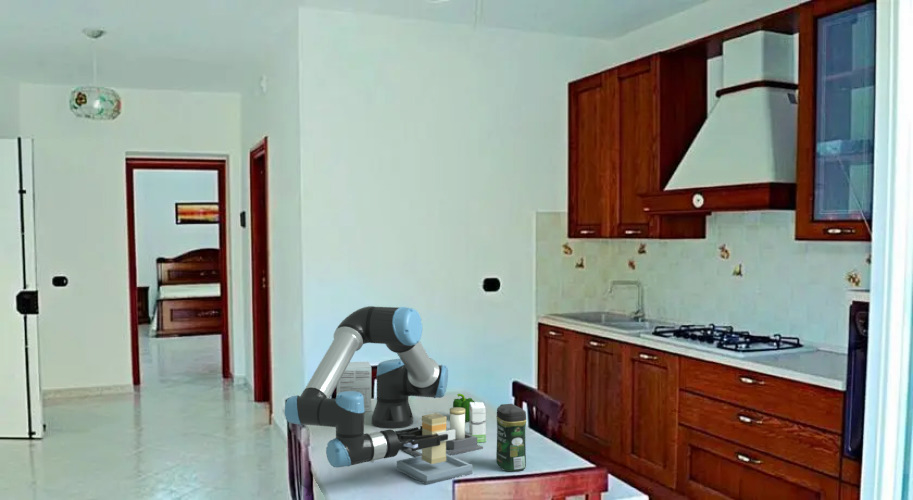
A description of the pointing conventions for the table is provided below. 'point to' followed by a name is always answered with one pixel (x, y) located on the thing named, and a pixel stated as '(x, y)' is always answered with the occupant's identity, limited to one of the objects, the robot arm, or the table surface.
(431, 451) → the beige tall box
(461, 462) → the tray
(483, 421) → the ink box
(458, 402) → the bell pepper
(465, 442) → the holder block
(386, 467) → the table surface
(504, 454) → the coffee jar
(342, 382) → the supplement box
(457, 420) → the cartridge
